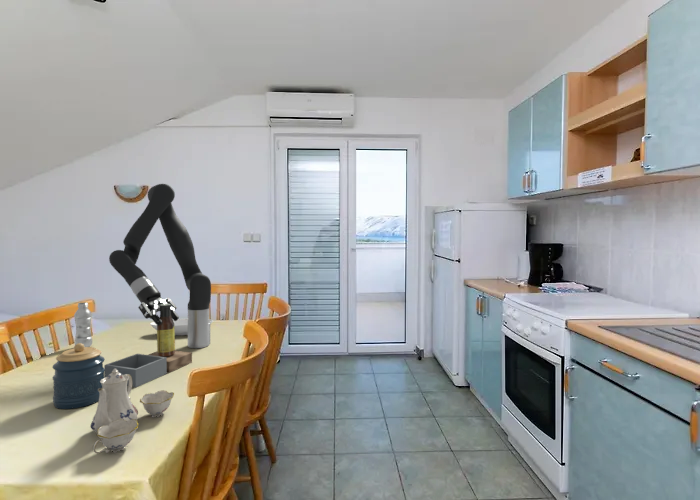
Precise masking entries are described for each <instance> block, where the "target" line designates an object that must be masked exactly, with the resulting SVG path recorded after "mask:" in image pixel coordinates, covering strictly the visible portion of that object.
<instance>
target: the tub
mask: <svg viewBox="0 0 700 500" xmlns="http://www.w3.org/2000/svg"><path fill="white" fill-rule="evenodd" d="M103 368H104V369H105V371H104V378H105V377H108V375H109V374H111V373H112V371H113V369H117V370H118V372H119V373H121V374H122V375H125V374H129V375H130V376H131V377H132V388H138V387H140V386H142V385H145V384H147V383H149V382H151V381H153V380H157V379H158V378H160V377H162V376H164V375H167V373H168V372H167V357H159V356H152V355H148V354H144V353H135V354H132V355H129V356H126V357H124V358H120V359H117V360H116V361H112V362H110V363H107V364H104V365H103ZM128 386H129V380H128V382H127V387H128Z"/></svg>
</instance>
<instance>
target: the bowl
mask: <svg viewBox="0 0 700 500" xmlns="http://www.w3.org/2000/svg"><path fill="white" fill-rule="evenodd" d="M173 322H174V326H175V336H188V318H179V319H178V320H177V321H174V320H173ZM209 323H210V325H212V323H214V320H213V319H211V318H209ZM149 324H150V326H151V327H152V328H153V329H155V330H156V331H157V324H155V322H154V321H153V322H150V323H149Z"/></svg>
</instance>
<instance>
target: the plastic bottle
mask: <svg viewBox="0 0 700 500" xmlns="http://www.w3.org/2000/svg"><path fill="white" fill-rule="evenodd" d="M92 316H93V314H92V311H91V310H90V309H89V302H86V301H85V302H78V303H77V310H76V311H75V312H74V315H73V317H74V319H73V320H74V321H75V322H74V323H75V338H74V346H75V345H76V344H78V343H82V344H84V347H92V345H93V337H92V331H91V325H92V323H91V322H92Z"/></svg>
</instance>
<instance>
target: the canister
mask: <svg viewBox="0 0 700 500" xmlns="http://www.w3.org/2000/svg"><path fill="white" fill-rule="evenodd" d="M55 359H56V362H55V363H53V365H52V369H53V370H54V374H53V376H52V380H53V396H52V402H53V405H54V407H55V408H57V409H59V410H60V409H61V410H73V409H78V408H84V407H87V406H90V405H93V404H96V403H98V402H99V396H100V393H99V391H98V389H100V388H102V384H101V383H100V381H101V380H102V379H104V378H105V369H104V365H103V363H104V362H105V357H104V356H102V350H100V349H97V348H95V347H92V346H90V347H84V344H82V343H78V344H76V345H75V344H74V346H73V348H70V349H67V350H64V351H63V352H62V353H60V354H59V355H57V356H56V357H55Z"/></svg>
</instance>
